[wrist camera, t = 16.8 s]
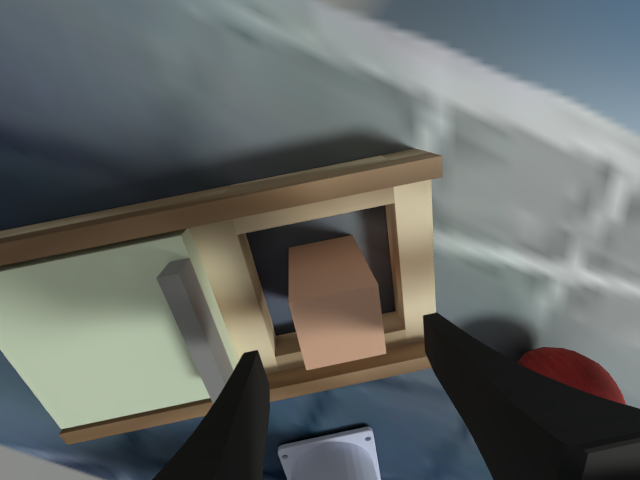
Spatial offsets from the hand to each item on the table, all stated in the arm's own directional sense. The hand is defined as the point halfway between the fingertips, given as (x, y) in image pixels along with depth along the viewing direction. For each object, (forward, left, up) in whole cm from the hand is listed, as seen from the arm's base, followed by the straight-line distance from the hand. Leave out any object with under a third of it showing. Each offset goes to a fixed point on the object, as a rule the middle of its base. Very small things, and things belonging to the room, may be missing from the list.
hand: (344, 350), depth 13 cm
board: (0, +6, -7) cm, 9 cm away
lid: (0, +12, -5) cm, 13 cm away
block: (0, 0, -7) cm, 7 cm away
